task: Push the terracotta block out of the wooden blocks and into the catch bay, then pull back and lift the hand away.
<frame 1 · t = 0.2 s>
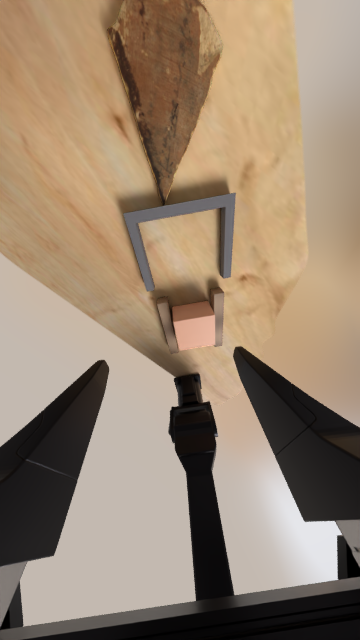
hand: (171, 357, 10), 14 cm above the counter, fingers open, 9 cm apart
terracotta block: (191, 317, 25), on the counter
catch bay: (183, 252, 19), on the counter
shard: (177, 111, 13), on the counter
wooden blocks: (192, 320, 26), on the counter
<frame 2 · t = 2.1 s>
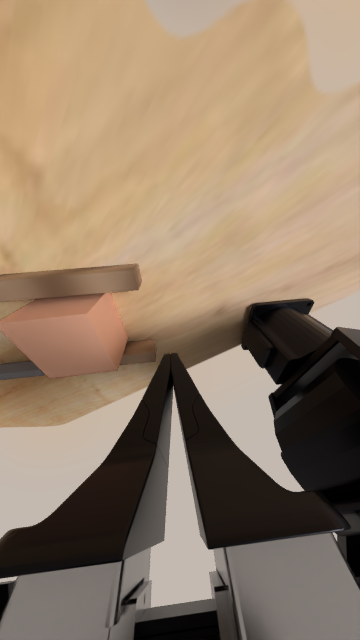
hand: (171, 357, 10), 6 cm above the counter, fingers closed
terracotta block: (91, 318, 15), on the counter
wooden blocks: (95, 319, 14), on the counter
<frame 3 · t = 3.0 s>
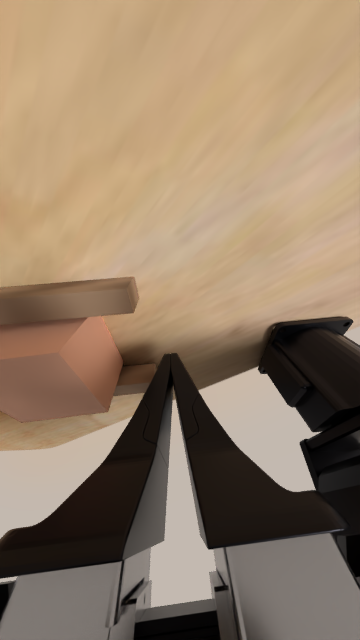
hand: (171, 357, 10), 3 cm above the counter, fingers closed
terracotta block: (77, 341, 12), on the counter
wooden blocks: (81, 342, 12), on the counter
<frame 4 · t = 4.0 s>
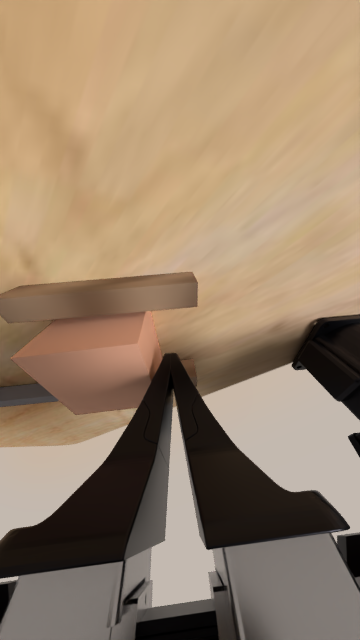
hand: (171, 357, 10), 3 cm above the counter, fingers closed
terracotta block: (121, 336, 12), on the counter, touching gripper
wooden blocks: (128, 337, 12), on the counter
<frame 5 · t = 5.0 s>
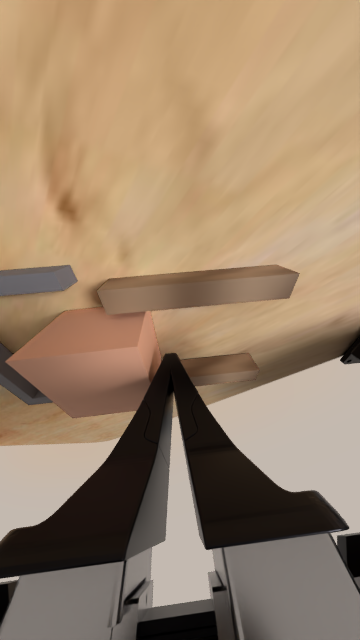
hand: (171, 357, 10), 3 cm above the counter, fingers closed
terracotta block: (119, 337, 12), on the counter, touching gripper
catch bay: (56, 344, 12), on the counter
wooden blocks: (194, 331, 12), on the counter
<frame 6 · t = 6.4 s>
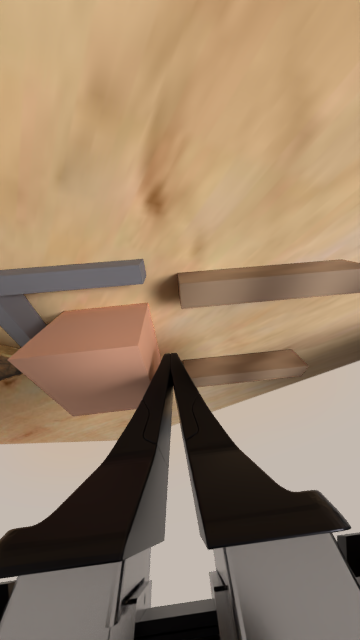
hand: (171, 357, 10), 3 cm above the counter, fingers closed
terracotta block: (120, 336, 12), on the counter
catch bay: (109, 339, 12), on the counter
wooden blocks: (245, 326, 12), on the counter
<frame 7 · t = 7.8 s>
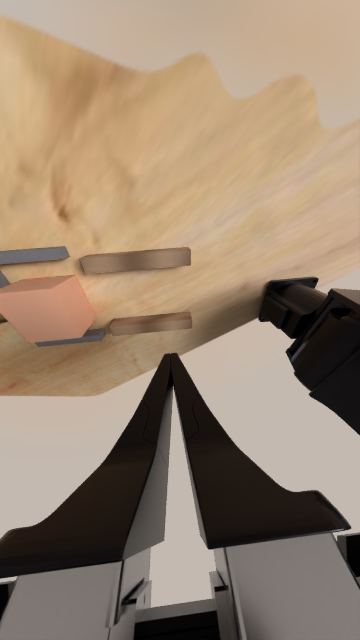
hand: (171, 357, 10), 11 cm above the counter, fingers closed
terracotta block: (64, 299, 18), on the counter
catch bay: (57, 300, 18), on the counter
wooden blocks: (147, 292, 19), on the counter
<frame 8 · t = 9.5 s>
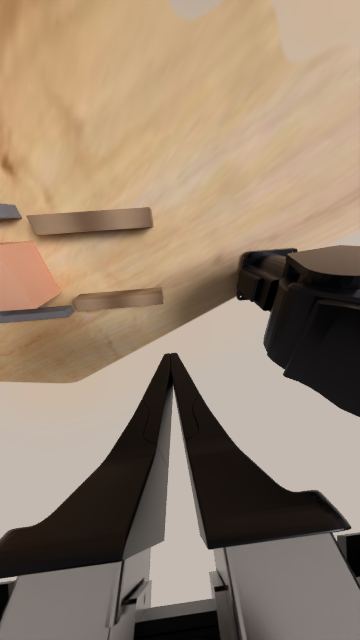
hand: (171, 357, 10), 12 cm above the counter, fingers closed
terracotta block: (24, 270, 17), on the counter
catch bay: (16, 271, 17), on the counter
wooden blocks: (113, 264, 17), on the counter
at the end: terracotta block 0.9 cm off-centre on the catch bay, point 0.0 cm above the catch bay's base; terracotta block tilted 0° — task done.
